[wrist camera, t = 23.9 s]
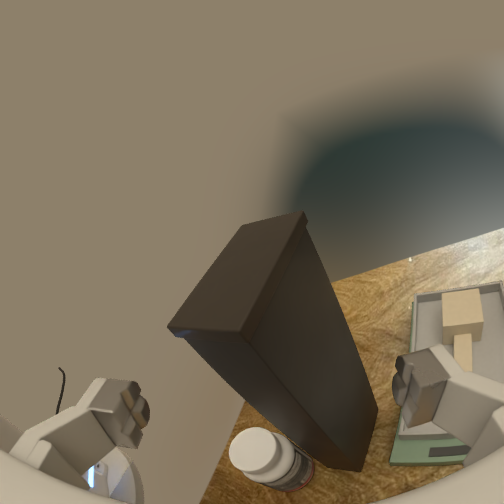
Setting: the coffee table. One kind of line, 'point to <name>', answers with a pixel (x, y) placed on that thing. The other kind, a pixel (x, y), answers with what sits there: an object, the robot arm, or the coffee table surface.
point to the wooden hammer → (462, 324)
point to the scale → (483, 356)
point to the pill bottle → (271, 459)
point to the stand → (283, 340)
